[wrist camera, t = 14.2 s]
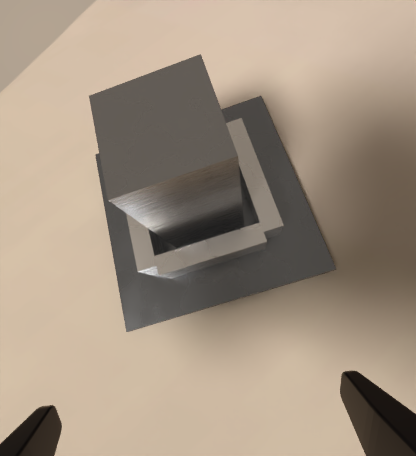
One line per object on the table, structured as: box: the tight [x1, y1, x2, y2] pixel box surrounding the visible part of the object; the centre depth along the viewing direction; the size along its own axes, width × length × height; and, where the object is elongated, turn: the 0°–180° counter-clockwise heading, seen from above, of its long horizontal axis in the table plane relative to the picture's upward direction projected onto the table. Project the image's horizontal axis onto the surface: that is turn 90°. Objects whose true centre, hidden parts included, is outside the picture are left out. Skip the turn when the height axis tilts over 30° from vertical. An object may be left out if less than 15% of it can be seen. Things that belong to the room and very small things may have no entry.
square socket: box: [96, 96, 336, 332], centre depth 18 cm, size 14×14×3 cm
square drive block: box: [89, 54, 244, 247], centre depth 14 cm, size 5×5×9 cm
